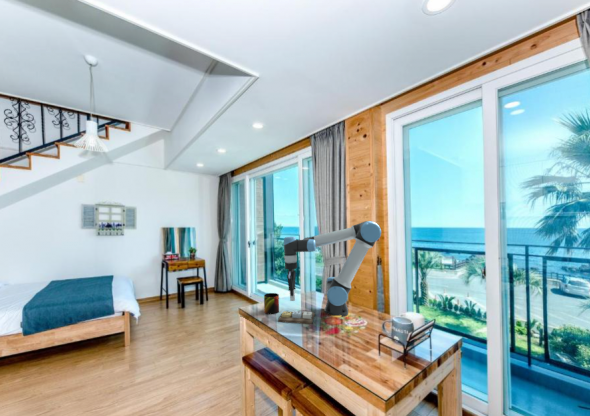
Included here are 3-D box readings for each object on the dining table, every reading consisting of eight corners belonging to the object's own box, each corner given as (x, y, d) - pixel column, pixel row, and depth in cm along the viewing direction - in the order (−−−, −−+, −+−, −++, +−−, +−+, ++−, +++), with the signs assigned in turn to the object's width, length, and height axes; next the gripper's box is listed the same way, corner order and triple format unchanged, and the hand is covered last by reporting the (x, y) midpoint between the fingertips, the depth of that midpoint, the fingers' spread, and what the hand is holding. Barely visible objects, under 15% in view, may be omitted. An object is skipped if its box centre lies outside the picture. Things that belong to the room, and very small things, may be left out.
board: (314, 317, 166) (314, 312, 166) (311, 326, 152) (311, 321, 152) (284, 315, 170) (283, 311, 170) (278, 323, 156) (278, 319, 156)
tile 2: (312, 317, 162) (312, 311, 162) (311, 320, 157) (310, 314, 157) (304, 317, 163) (304, 311, 163) (302, 320, 158) (302, 314, 158)
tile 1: (291, 317, 164) (291, 311, 164) (289, 320, 159) (289, 314, 159) (283, 317, 165) (283, 311, 165) (281, 320, 160) (281, 314, 160)
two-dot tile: (301, 317, 163) (301, 311, 163) (300, 320, 158) (300, 313, 158) (293, 316, 164) (293, 310, 164) (292, 319, 159) (292, 313, 159)
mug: (273, 308, 183) (273, 290, 184) (281, 314, 171) (281, 295, 171) (260, 310, 179) (260, 292, 180) (267, 317, 167) (267, 298, 167)
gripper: (287, 260, 170) (289, 297, 169) (282, 263, 157) (284, 303, 156) (298, 260, 168) (300, 297, 168) (294, 263, 156) (296, 304, 155)
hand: (292, 300), depth 162 cm, fingers closed
